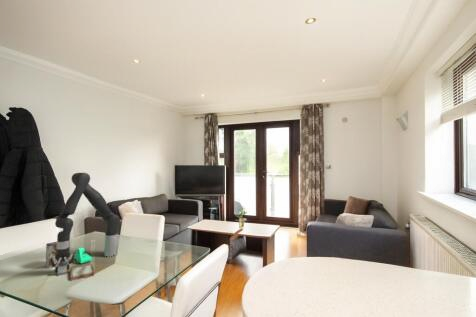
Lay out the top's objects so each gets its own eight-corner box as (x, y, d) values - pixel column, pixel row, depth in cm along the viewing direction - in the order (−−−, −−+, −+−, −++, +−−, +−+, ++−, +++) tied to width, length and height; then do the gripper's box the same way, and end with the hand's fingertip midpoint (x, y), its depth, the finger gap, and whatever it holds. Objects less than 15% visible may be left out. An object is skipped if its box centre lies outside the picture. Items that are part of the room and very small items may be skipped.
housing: (66, 268, 170) (66, 259, 170) (66, 274, 163) (67, 264, 163) (57, 270, 167) (58, 261, 167) (57, 275, 160) (57, 266, 160)
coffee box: (60, 261, 179) (61, 240, 179) (63, 264, 175) (64, 242, 175) (45, 265, 172) (46, 243, 171) (48, 268, 168) (49, 246, 167)
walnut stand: (91, 267, 174) (92, 264, 174) (93, 275, 164) (94, 272, 164) (70, 271, 167) (70, 268, 166) (70, 280, 156) (70, 277, 156)
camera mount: (92, 261, 183) (92, 248, 182) (80, 264, 177) (81, 251, 176) (85, 256, 190) (86, 243, 190) (74, 259, 184) (75, 246, 183)
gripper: (75, 242, 172) (74, 266, 172) (50, 246, 163) (49, 270, 164) (76, 246, 166) (74, 270, 166) (49, 250, 157) (48, 276, 158)
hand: (62, 270), depth 165 cm, fingers closed on housing, 5 cm apart
